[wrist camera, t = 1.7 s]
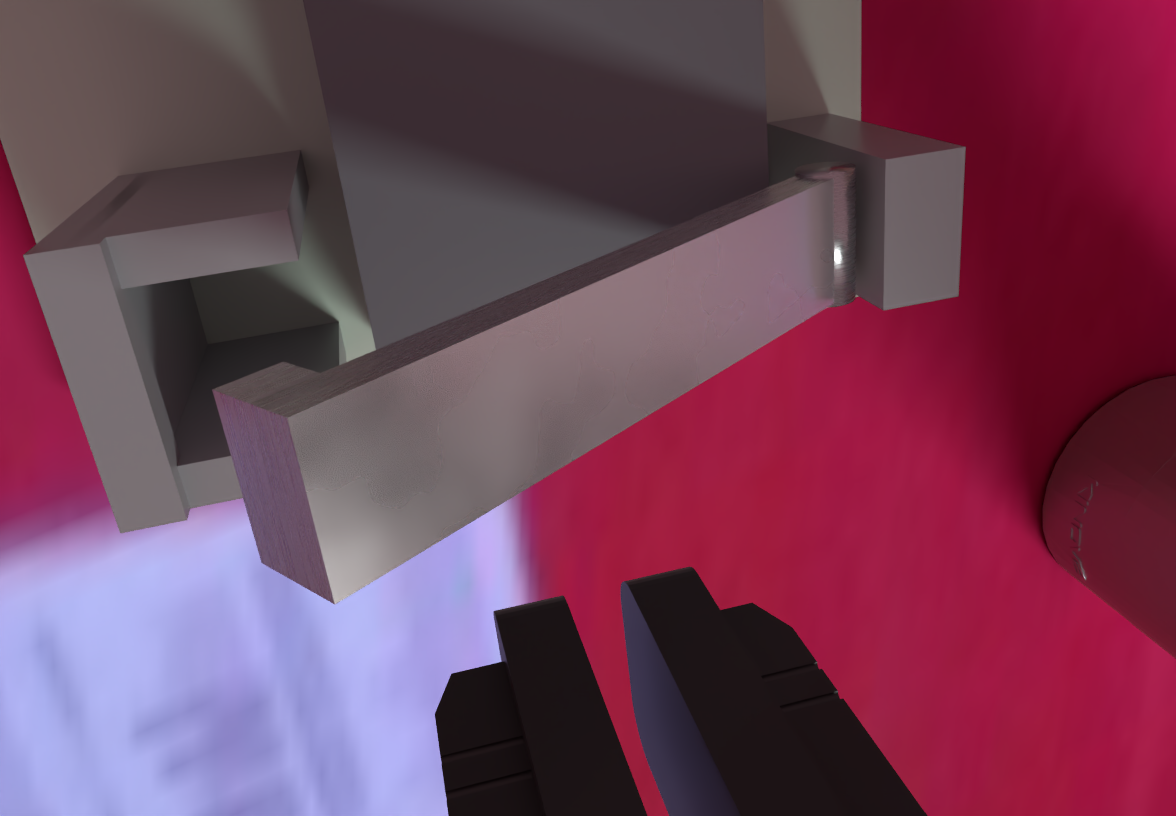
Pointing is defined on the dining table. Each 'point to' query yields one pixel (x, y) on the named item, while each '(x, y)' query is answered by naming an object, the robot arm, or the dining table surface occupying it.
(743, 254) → the grey hinged latch bar
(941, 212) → the base
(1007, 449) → the dining table surface
